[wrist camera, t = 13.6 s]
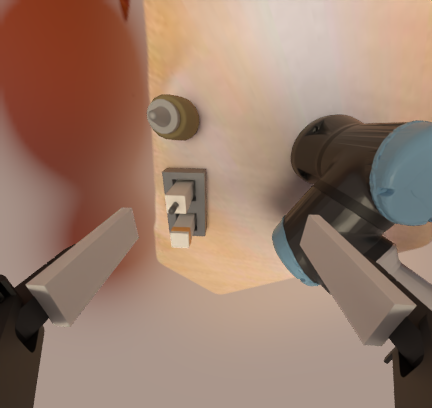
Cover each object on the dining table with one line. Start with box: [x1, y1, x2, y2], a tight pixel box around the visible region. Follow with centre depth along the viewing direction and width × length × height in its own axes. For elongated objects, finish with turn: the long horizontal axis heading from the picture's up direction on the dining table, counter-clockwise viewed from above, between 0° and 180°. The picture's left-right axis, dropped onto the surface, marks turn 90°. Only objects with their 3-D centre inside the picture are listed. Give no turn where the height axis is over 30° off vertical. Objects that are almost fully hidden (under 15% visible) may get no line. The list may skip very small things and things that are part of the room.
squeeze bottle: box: [147, 95, 199, 140], centre depth 29 cm, size 8×8×18 cm
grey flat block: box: [162, 168, 207, 236], centre depth 44 cm, size 10×18×4 cm, turn 179°
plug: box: [170, 213, 196, 248], centre depth 42 cm, size 4×4×11 cm
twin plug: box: [165, 179, 195, 215], centre depth 36 cm, size 4×4×14 cm
